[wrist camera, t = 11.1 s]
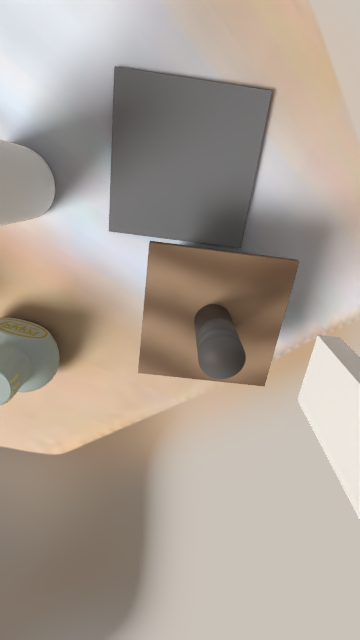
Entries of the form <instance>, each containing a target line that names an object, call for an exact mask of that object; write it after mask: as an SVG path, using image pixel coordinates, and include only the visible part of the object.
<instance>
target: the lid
mask: <svg viewBox="0 0 360 640" xmlns="http://www.w3.org/2000/svg"><path fill="white" fill-rule="evenodd" d="M298 264H299V261H297V260H295V259H287V258H279V257H272V256H264V255H256V254H248V253H241V252H233V251H225V250H217V249H209V248H202V247H194V246H186V245H178V244H171V243H163V242H155V241H150V243H149V254H148V266H147V277H146V289H145V300H144V311H143V323H142V334H141V346H140V357H139V369H138V373H144V374H153V375H163V376H172V377H182V378H191V379H200V380H210V381H219V382H229V383H238V384H248V385H257V386H265V382H266V379H267V375H268V371H269V368H270V364H271V361H272V357H273V354H274V350H275V347H276V343H277V339H278V336H279V332H280V329H281V325H282V322H283V318H284V314H285V311H286V307H287V304H288V300H289V297H290V293H291V289H292V286H293V282H294V279H295V275H296V272H297V268H298Z"/></svg>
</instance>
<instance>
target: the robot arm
mask: <svg viewBox="0 0 360 640" xmlns="http://www.w3.org/2000/svg"><path fill="white" fill-rule="evenodd" d="M298 402H299V404H300V406H301V408H302V410H303V412H304V413H305V415H306V417H307V419H308V421H309V423H310V425H311V427H312V429H313V431H314V433H315V435H316V437H317V439H318V441H319V442H320V444H321V446H322V448H323V450H324V452H325V454H326V456H327V458H328V460H329V462H330V464H331V465H332V467H333V469H334V471H335V473H336V475H337V477H338V479H339V481H340V483H341V485H342V487H343V489H344V490H345V492H346V494H347V496H348V498H349V500H350V502H351V504H352V506H353V507H354V510H355V511H356V513H357V515H358V517H359V519H360V357H359V356H358V355H357V354H356V353H355V352H354V351H353V350H352V349H351V348H350V347H349V346H348V345H347V344H346V343H345V342H344V341H343V340H342V339H341V338H340V337H330V336H320V335H318V336H317V339H316V343H315V346H314V349H313V352H312V355H311V358H310V362H309V365H308V368H307V371H306V375H305V378H304V381H303V384H302V387H301V390H300V393H299V397H298Z"/></svg>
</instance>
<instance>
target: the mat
mask: <svg viewBox="0 0 360 640" xmlns="http://www.w3.org/2000/svg"><path fill="white" fill-rule="evenodd" d="M271 94H272V91H271V90H264V89H258V88H251V87H245V86H239V85H232V84H226V83H219V82H213V81H206V80H200V79H193V78H187V77H181V76H174V75H168V74H161V73H155V72H148V71H142V70H135V69H129V68H123V67H116V66H115V70H114V99H113V128H112V157H111V185H110V214H109V231H111V232H119V233H127V234H134V235H142V236H150V237H158V238H166V239H174V240H181V241H189V242H197V243H205V244H213V245H221V246H228V247H236V248H241V244H242V239H243V234H244V229H245V224H246V219H247V214H248V209H249V204H250V199H251V194H252V189H253V184H254V179H255V174H256V169H257V164H258V159H259V154H260V149H261V144H262V139H263V134H264V129H265V124H266V119H267V114H268V109H269V104H270V99H271Z"/></svg>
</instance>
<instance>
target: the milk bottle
mask: <svg viewBox="0 0 360 640" xmlns="http://www.w3.org/2000/svg"><path fill="white" fill-rule="evenodd" d="M54 196H55V182H54V178H53V175H52V172H51V170H50V168H49V166H48V165H47V163H46V162H45V161H44V160H43V158H42V157H41V156H40V155H38V154H37V153H36V152H34V151H33V150H31V149H29V148H27V147H24V146H21V145H18V144H15V143H11V142H7V141H3V140H0V226H2V225H7V224H12V223H16V222H21V221H26V220H30V219H34V218H37V217H39V216H41V215H43V214H44V213H45V212H46V211H47V210H48V209H49V208H50V206H51V205H52V203H53V200H54Z"/></svg>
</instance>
